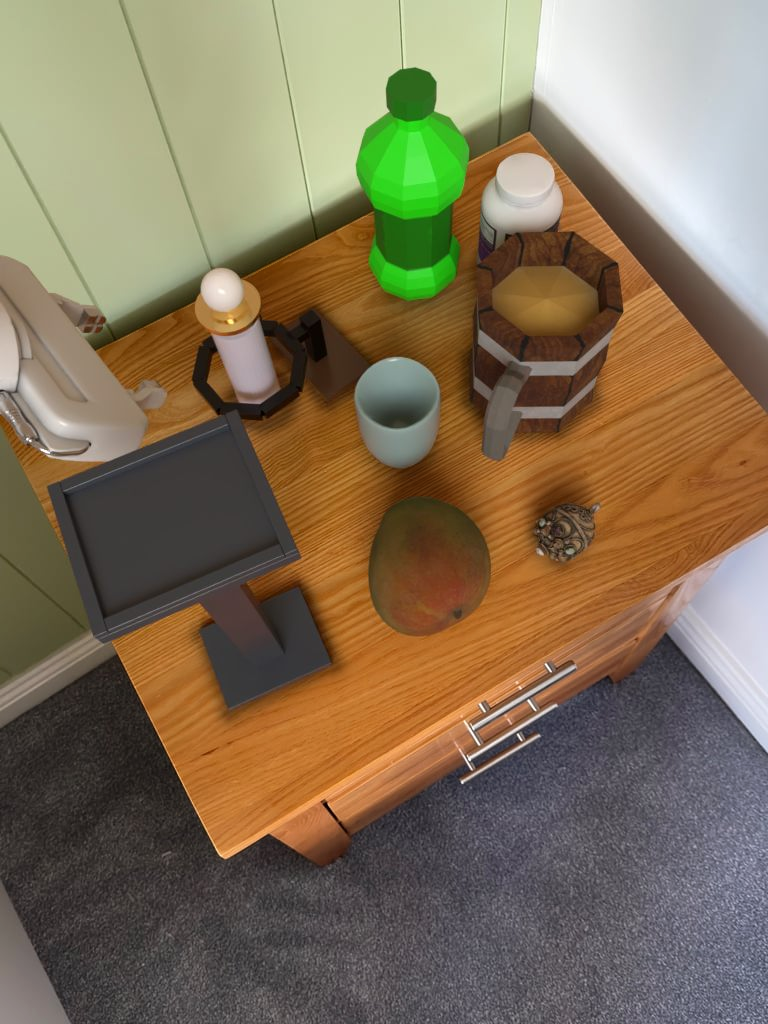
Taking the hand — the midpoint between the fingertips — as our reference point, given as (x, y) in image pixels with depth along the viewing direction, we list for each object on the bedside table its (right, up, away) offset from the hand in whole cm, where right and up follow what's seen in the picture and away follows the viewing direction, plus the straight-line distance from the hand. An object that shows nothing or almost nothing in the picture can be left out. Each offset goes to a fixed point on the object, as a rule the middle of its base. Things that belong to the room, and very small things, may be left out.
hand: (129, 356), depth 68 cm
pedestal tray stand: (+10, -25, +9) cm, 29 cm away
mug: (+35, -2, +18) cm, 39 cm away
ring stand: (+10, +1, +20) cm, 22 cm away
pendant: (+38, -15, +12) cm, 43 cm away
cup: (+22, -6, +17) cm, 29 cm away
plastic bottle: (+24, +13, +25) cm, 37 cm away
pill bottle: (+35, +14, +24) cm, 45 cm away
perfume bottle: (+8, -1, +19) cm, 21 cm away
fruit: (+25, -19, +11) cm, 33 cm away
